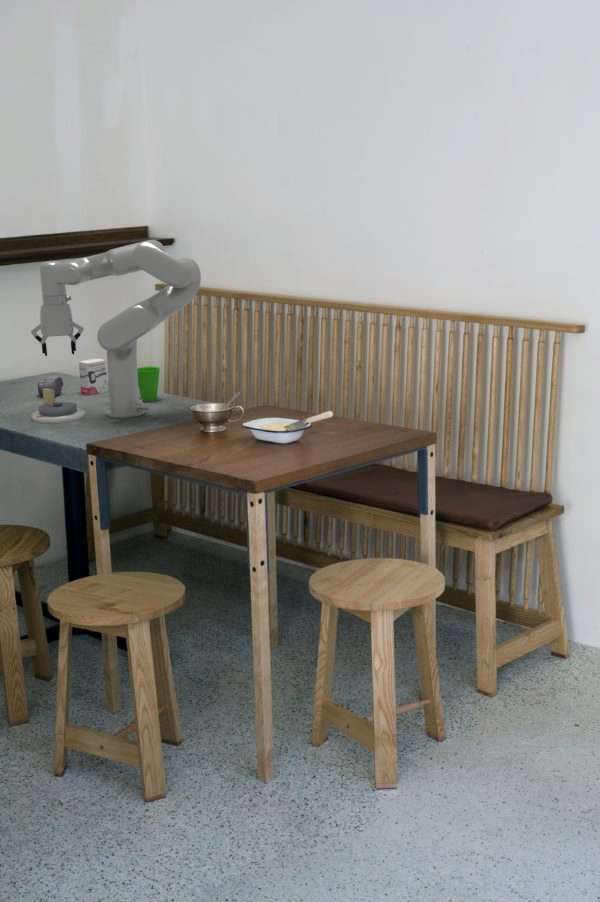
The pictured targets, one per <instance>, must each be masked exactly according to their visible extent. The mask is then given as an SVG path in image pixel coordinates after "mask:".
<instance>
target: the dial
mask: <svg viewBox="0 0 600 902" xmlns="http://www.w3.org/2000/svg"><path fill="white" fill-rule="evenodd" d="M55 398H56V397H55V395H54V390H52V389H47V388H45V389H43V397H42V399H43V400H42V401H43V404H41V405H38V411H39V414H40V415H44V416H62V415H69V414H73V413H75V412H77V408H78V407H77V403H75V402H72V401H70V402H69V401H56V399H55Z"/></svg>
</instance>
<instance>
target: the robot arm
mask: <svg viewBox="0 0 600 902" xmlns="http://www.w3.org/2000/svg"><path fill="white" fill-rule="evenodd" d="M139 271H144V272H145V273H147V274H148V275H150V276H151V277H154V278H156V279H157V280H159V281H161V282H163V283H164V284H165V285H167V286H165V287H163V288H162V289H161V290H159V291H158V292H156V293H155V294H153V295H151V296H150V297H148V298H146V299H144V300H142V301H139V302H137V303H134V304H132V305H131V306H130V307H128V308H127V309H124V310H123V311H121V312H120V313H118V314H117V315H115V316H114V317H112V318H111V319H108V320H107V321H106V322H104V323H103V324H102V325H101V326H100V327H99V329H98V331H97V334H96V339H97V342H98V344H99V346H100V348H102V349H104V350H105V351H106V368H107V384H108V395H109V405H110V406H109V409H107V410H106V411H105V415H106V416H107V417H109V418H115V419H123V418H124V419H125V418H134V417H135V418H136V417H139V416H142V415H144V414H145V411H150V410H151V409H152V407H151V404H150V402H146V403H144V401H142V399H141V398H140V390H139V386H138V372H137V368H138V357H137V356H138V355H137V354H138V353H137V349H138V347H137V346H138V345H137V344H138V339H140V338H142V337H143V336H144V335H146V334H148V333H149V332H152V330H154V329H156V328H157V327H158V326H159V325H160V324H161V323H163V322H164V321H166V320H168V319H169V318H170V317H172V316H173V315H174V314H177V313H178V312H179V311H181V310H182V309H184V308H185V307H186V306H188V305H189V304H190V302H192V301H193V300H194V298H195V297H196V295H197V293H198V292H199V289H200V287H201V281H202V278H201V270H200V267H199V265H198V263H197V262H196V261H195V260H193V259H191V258H188V257H181V258H176V257H175V256H172V255H171V254H169V253H167V252H166V249H165V247H164V245H163V244H162V243H161V242H160V241H159V240H156V239H148V240H144V241H140V242H136V243H132V244H127V245H124V246H120V247H116V248H111V249H109V250H108V251H106V252H105V251H104V252H102V253H101V252H100V253H98V254H94V255H90V256H86V257H82V258H77V259H74V260H70V261H66V262H62V261H55V260H53V261H52V260H51V261H49V260H48V261H44V262H41V264H39V275H40V284H41V295H42V304H41V305H40V311H39V312H40V313H39V315H40V318H39V320H40V323H39V324H38V325H37V326H35V327H34V328H33V329H32V330H31V331H30V333H31V335H32V336H33V337H34V338H35V340H36V341H38V342H39V343H40V344H41V350H42V354H44V356H45V357H47V356H48V350H47V343H46V341H47V339H48V337H62V336H68V337H69V338H70V348H71V349H70V350H71V354H72V355H75V352H77V347H76V346H77V344H76V343H77V342H76V341H77V340H78V339H79V338H80V337H81V335H82V333H83V332H84V330H85V329H84V327H83V326H81V325H80V324H78V323H76V322H74V321H73V313H72V310H71V308H72V307H71V306H70V303H68V302H69V301H72V295H67V289H66V285H68V286H77V285H79V284H83V283H85V282H88V281H93V280H97V279H100V278H105V277H110V276H114V277H115V276H117V277H118V276H123V275H124V276H125V275H128V274H132V273H135V272H139ZM74 328H75V329H77V332H76V333H75V334H74ZM39 331H40V332H41V334H42V337H41V336H39V334H38V333H37V332H39Z"/></svg>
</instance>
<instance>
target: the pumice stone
mask: <svg viewBox="0 0 600 902" xmlns="http://www.w3.org/2000/svg"><path fill="white" fill-rule="evenodd" d="M63 387H64V381H63V378H62V376H60V375H52V376H46V377H44V378H42V379H41V380H39V381H38V382H37V393H38V395H39V396H41V397H42V398H43V389H45V388H47V389H52V390H54V395H55V398H57V397H58V396H60V395H61V393H62V391H63Z"/></svg>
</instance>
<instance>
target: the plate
mask: <svg viewBox="0 0 600 902" xmlns="http://www.w3.org/2000/svg"><path fill="white" fill-rule="evenodd" d="M30 416H31V421H32V422H35V423H40V424H63V423H64V424H65V423H70V422H75V421H80V420H82V419H84V418H85V417H86V411H85V409H83V408H80V407H77V412H75V413H73V414H69V415H62V416H44V415H40V414H39V410H36V411H34V412H32V413H31V415H30Z"/></svg>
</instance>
